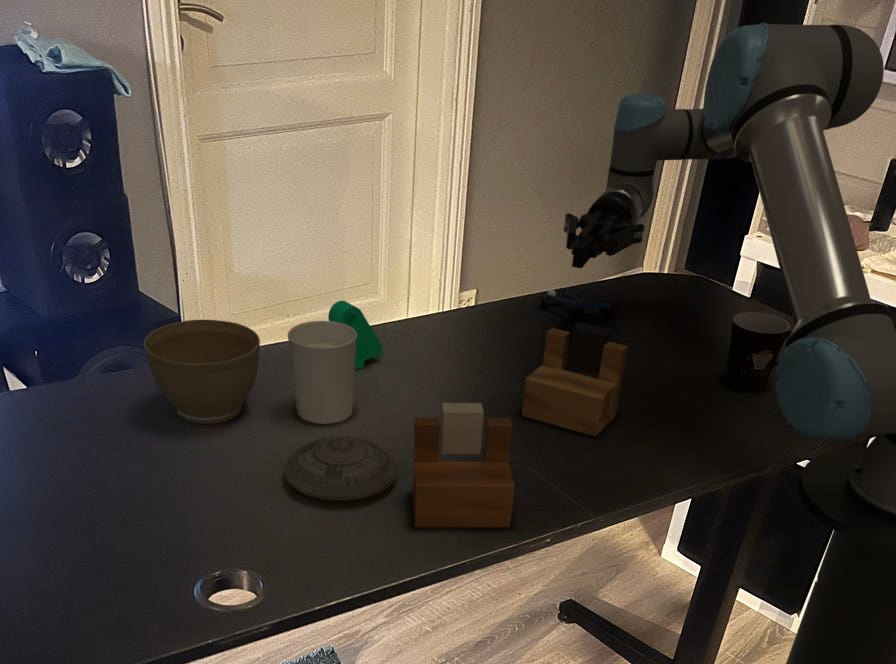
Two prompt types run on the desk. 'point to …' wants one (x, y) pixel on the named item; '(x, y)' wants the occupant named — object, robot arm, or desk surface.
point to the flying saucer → (340, 469)
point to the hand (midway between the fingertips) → (578, 258)
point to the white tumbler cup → (323, 370)
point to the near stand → (462, 480)
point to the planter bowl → (204, 366)
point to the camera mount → (357, 331)
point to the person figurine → (577, 305)
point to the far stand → (574, 388)
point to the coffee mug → (754, 349)
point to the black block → (588, 346)
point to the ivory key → (461, 428)
